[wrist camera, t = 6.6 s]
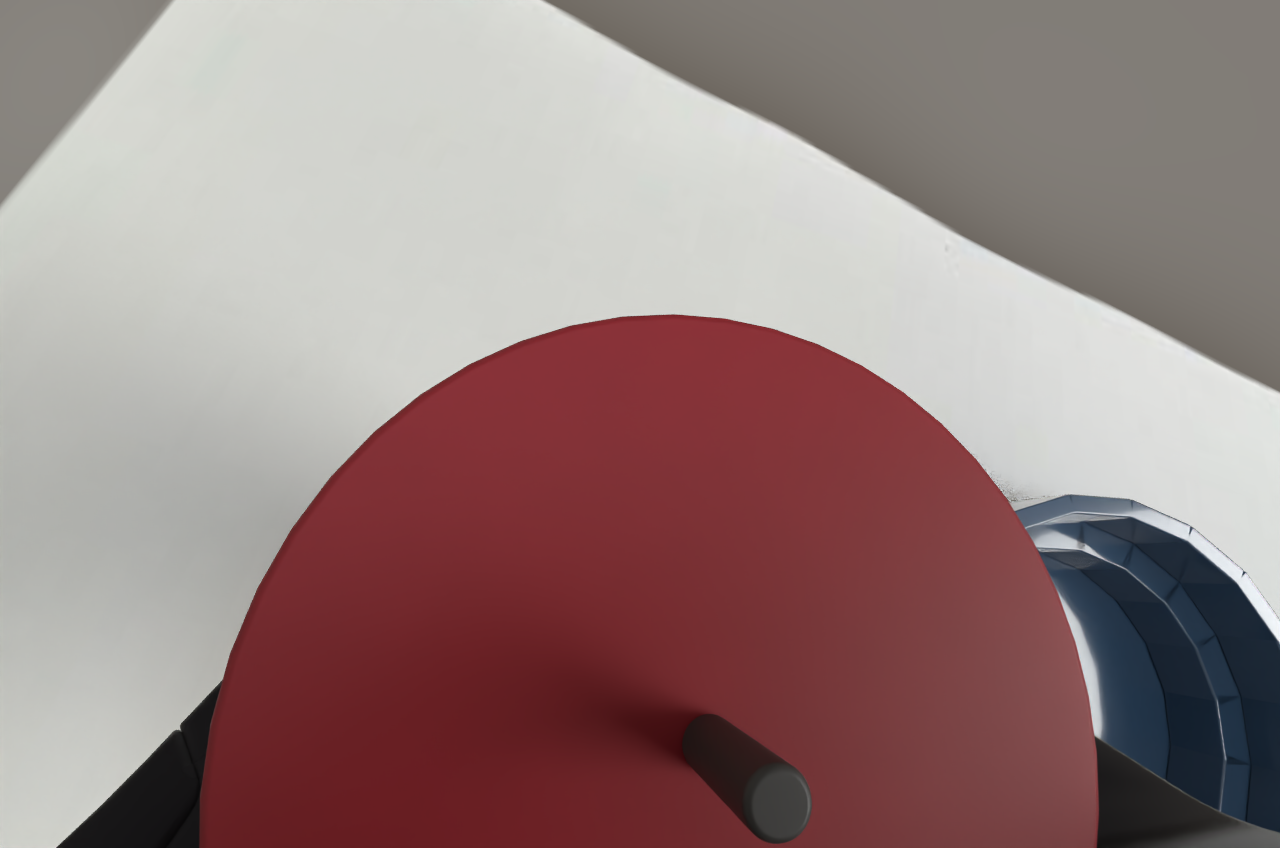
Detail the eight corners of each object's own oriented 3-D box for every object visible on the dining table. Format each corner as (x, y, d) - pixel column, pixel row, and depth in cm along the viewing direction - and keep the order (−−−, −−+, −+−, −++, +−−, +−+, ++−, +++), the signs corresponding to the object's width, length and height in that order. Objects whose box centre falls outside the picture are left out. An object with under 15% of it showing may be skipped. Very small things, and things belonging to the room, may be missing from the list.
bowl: (1249, 758, 24) (1409, 800, 20) (994, 1051, 20) (1124, 1181, 16) (1026, 438, 25) (1133, 412, 21) (743, 657, 21) (803, 680, 17)
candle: (696, 640, 16) (1479, 925, 3) (519, 771, 15) (585, 2318, 2) (587, 468, 16) (873, 82, 3) (406, 581, 15) (-246, 632, 2)
